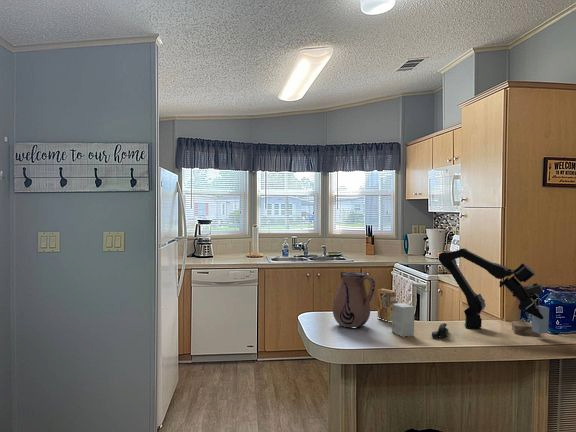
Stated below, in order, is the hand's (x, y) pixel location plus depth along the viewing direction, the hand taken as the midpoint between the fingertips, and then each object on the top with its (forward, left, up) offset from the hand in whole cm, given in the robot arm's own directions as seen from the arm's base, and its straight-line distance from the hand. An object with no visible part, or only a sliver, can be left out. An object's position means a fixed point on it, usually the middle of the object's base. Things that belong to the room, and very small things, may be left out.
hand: (544, 317), depth 195 cm
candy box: (-67, +11, -10) cm, 69 cm away
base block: (-5, +10, -10) cm, 15 cm away
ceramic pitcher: (-81, -6, -10) cm, 82 cm away
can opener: (-42, -7, -10) cm, 44 cm away
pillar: (-1, +1, -7) cm, 7 cm away
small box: (-59, -12, -10) cm, 61 cm away
